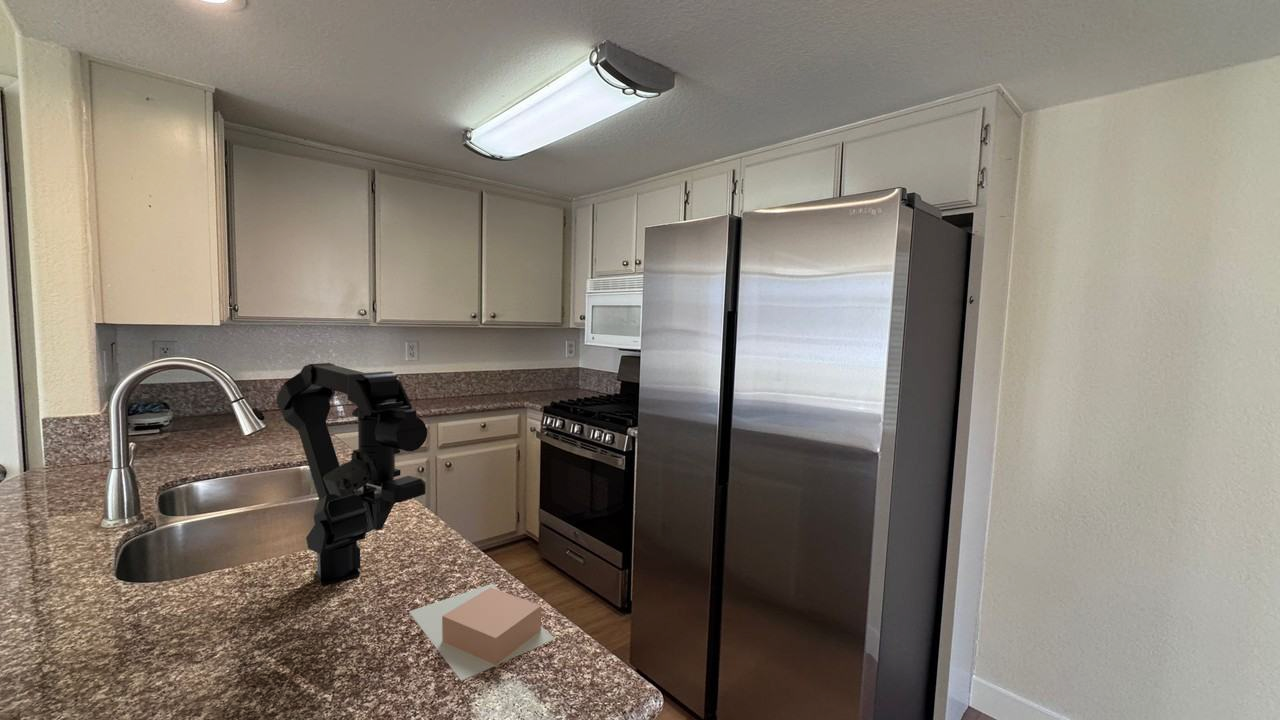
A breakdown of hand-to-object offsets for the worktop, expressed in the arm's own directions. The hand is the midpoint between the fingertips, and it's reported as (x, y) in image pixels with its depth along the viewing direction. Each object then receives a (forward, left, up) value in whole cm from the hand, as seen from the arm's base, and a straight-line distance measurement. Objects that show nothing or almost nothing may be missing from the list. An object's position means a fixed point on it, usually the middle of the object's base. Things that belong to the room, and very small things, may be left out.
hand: (378, 529), depth 92 cm
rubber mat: (+9, -21, -12) cm, 26 cm away
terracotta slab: (+8, -20, -10) cm, 23 cm away
